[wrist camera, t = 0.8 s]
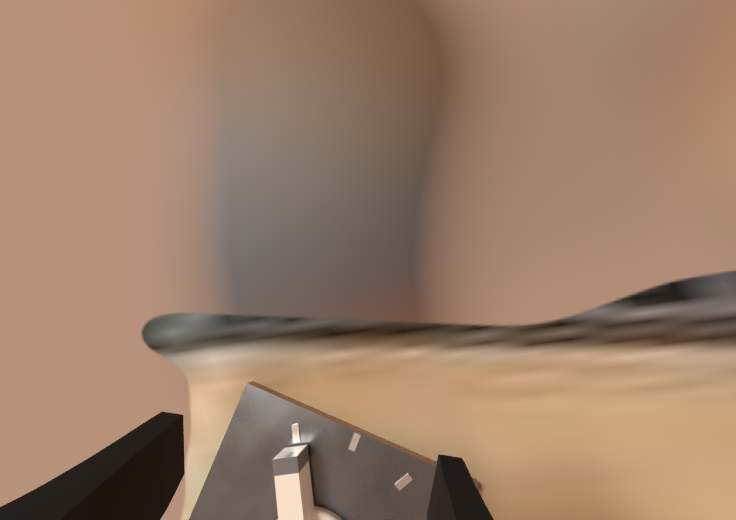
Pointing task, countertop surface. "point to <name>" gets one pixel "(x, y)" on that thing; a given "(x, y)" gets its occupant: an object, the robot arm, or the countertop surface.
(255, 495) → the dial plate
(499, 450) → the countertop surface
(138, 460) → the robot arm
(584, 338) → the countertop surface
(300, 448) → the dial
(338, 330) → the countertop surface
